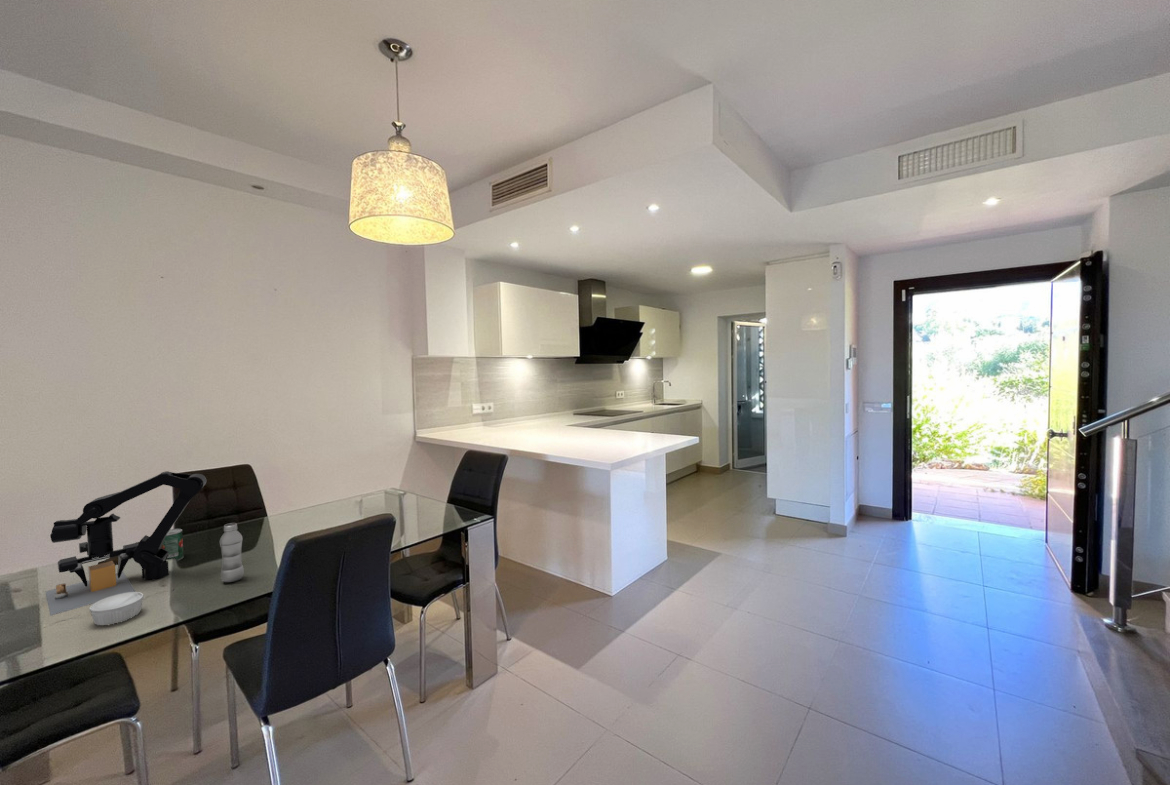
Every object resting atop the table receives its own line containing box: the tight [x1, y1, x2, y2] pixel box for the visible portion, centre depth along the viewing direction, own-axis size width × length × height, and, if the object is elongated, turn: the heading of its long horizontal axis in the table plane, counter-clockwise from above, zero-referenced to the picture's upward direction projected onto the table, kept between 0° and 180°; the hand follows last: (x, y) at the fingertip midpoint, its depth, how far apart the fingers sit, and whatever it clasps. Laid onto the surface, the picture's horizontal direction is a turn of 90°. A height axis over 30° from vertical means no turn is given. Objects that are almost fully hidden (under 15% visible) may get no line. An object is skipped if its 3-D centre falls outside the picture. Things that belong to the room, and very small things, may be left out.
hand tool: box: [97, 541, 140, 566], centre depth 175 cm, size 19×4×5 cm, turn 10°
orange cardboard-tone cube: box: [88, 561, 117, 592], centre depth 150 cm, size 6×6×7 cm
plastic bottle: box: [219, 522, 245, 583], centre depth 157 cm, size 6×7×20 cm
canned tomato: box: [161, 528, 185, 561], centre depth 175 cm, size 8×8×11 cm
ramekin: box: [88, 591, 145, 626], centre depth 134 cm, size 11×11×5 cm
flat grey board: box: [44, 571, 137, 616], centre depth 147 cm, size 24×18×2 cm
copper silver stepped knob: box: [55, 583, 68, 599], centre depth 143 cm, size 3×3×4 cm
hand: (102, 581), depth 150 cm, fingers open, 7 cm apart
